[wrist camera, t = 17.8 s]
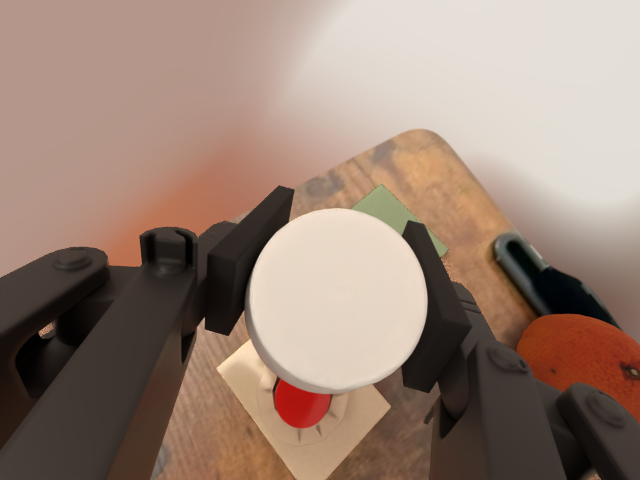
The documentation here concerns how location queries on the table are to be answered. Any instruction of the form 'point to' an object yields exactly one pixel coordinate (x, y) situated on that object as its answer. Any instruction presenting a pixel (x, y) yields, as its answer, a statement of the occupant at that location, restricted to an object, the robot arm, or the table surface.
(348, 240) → the pill bottle
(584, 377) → the fruit
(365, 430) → the control block
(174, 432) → the table surface
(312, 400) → the button
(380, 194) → the mat
